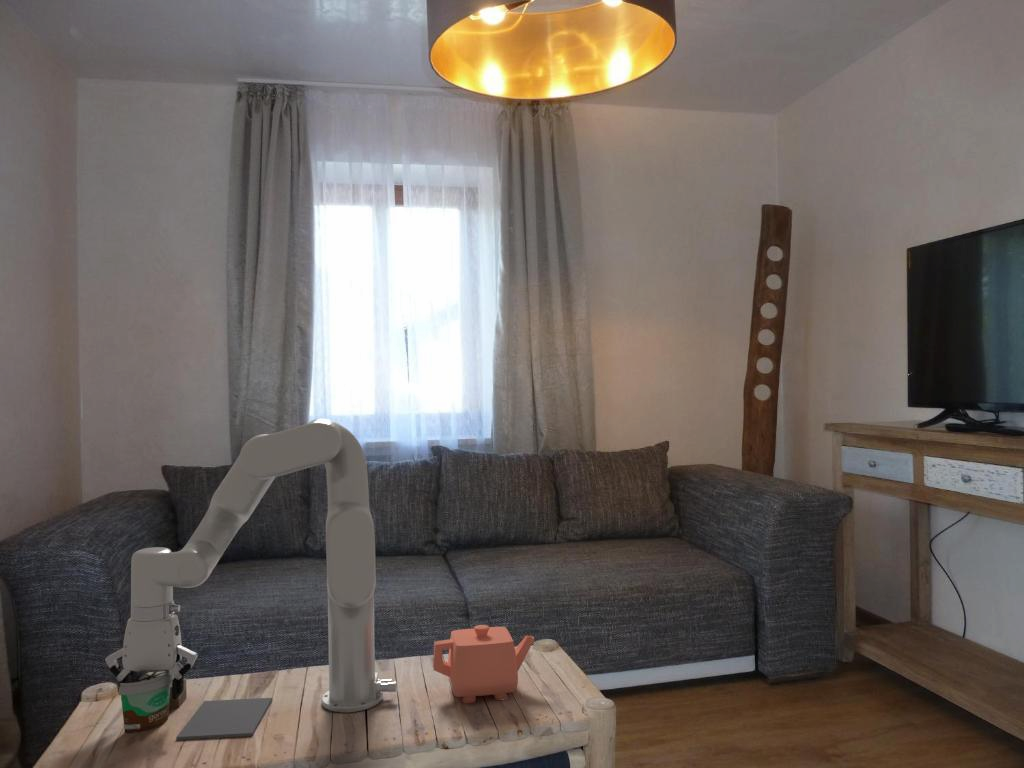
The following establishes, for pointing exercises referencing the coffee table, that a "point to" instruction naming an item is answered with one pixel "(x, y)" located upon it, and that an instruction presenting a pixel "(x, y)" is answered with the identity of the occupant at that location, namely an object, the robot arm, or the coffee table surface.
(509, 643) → the teapot
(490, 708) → the coffee table surface
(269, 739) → the coffee table surface
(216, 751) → the coffee table surface
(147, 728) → the food container
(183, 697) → the walnut block
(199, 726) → the mat
